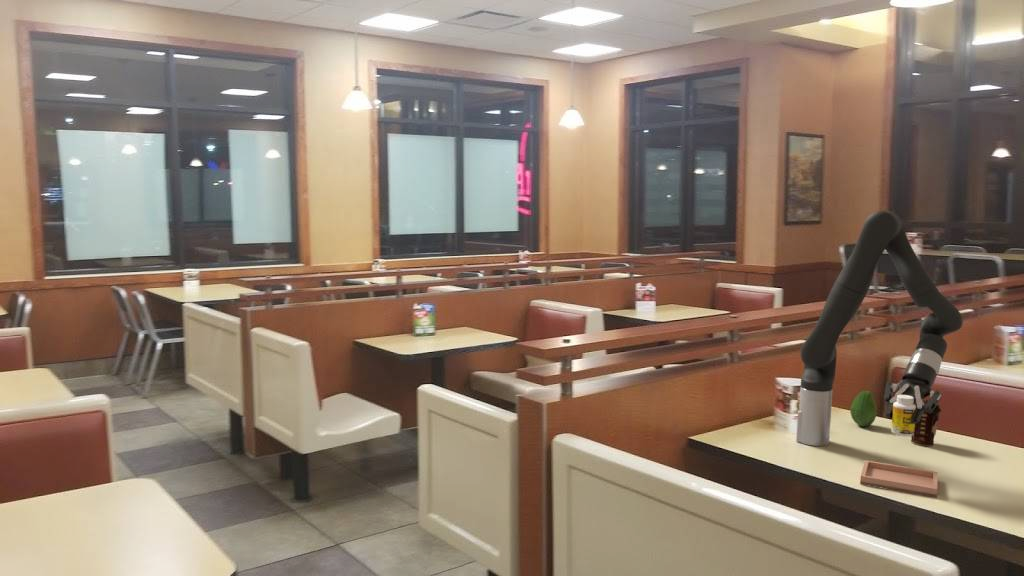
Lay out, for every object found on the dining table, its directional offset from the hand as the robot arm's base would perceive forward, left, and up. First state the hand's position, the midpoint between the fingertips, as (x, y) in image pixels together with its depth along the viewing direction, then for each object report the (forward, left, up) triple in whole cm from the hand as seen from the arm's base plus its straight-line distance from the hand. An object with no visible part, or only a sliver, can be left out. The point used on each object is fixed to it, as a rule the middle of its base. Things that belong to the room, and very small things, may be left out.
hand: (901, 419), depth 204 cm
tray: (+1, +2, -18) cm, 18 cm away
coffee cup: (+6, +42, -18) cm, 46 cm away
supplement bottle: (+1, +2, -4) cm, 5 cm away
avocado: (-12, +52, -18) cm, 56 cm away
